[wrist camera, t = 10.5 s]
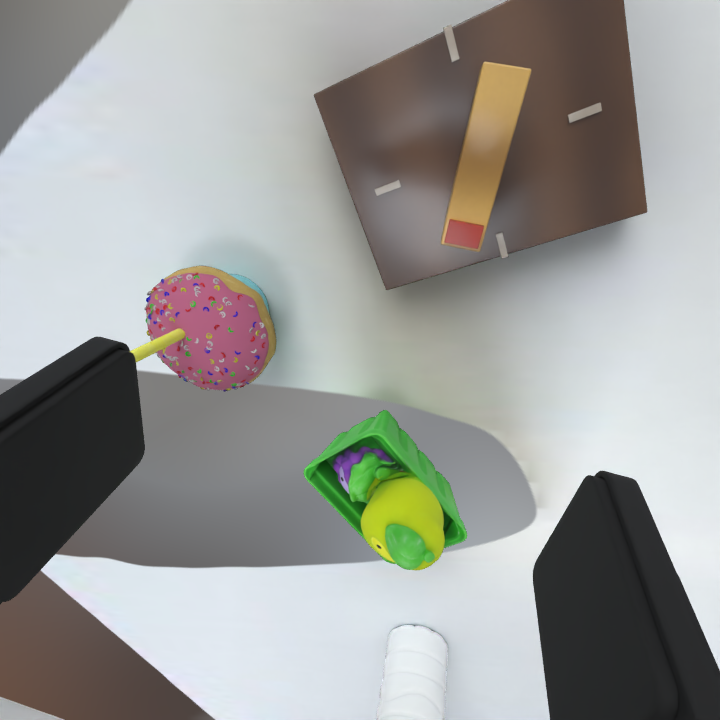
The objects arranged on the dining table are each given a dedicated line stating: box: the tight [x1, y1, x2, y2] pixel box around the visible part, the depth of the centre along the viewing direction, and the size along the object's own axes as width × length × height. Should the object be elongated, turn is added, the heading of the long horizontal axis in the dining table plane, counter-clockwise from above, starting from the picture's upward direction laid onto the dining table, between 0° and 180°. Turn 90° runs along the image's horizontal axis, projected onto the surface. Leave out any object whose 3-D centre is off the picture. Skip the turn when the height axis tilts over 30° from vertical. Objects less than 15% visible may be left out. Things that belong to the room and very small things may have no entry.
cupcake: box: [130, 266, 276, 391], centre depth 29 cm, size 9×8×12 cm
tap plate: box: [314, 0, 647, 290], centre depth 24 cm, size 14×11×3 cm
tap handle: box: [441, 62, 531, 252], centre depth 21 cm, size 7×2×5 cm, turn 172°
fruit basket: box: [304, 410, 467, 570], centre depth 33 cm, size 11×9×11 cm
